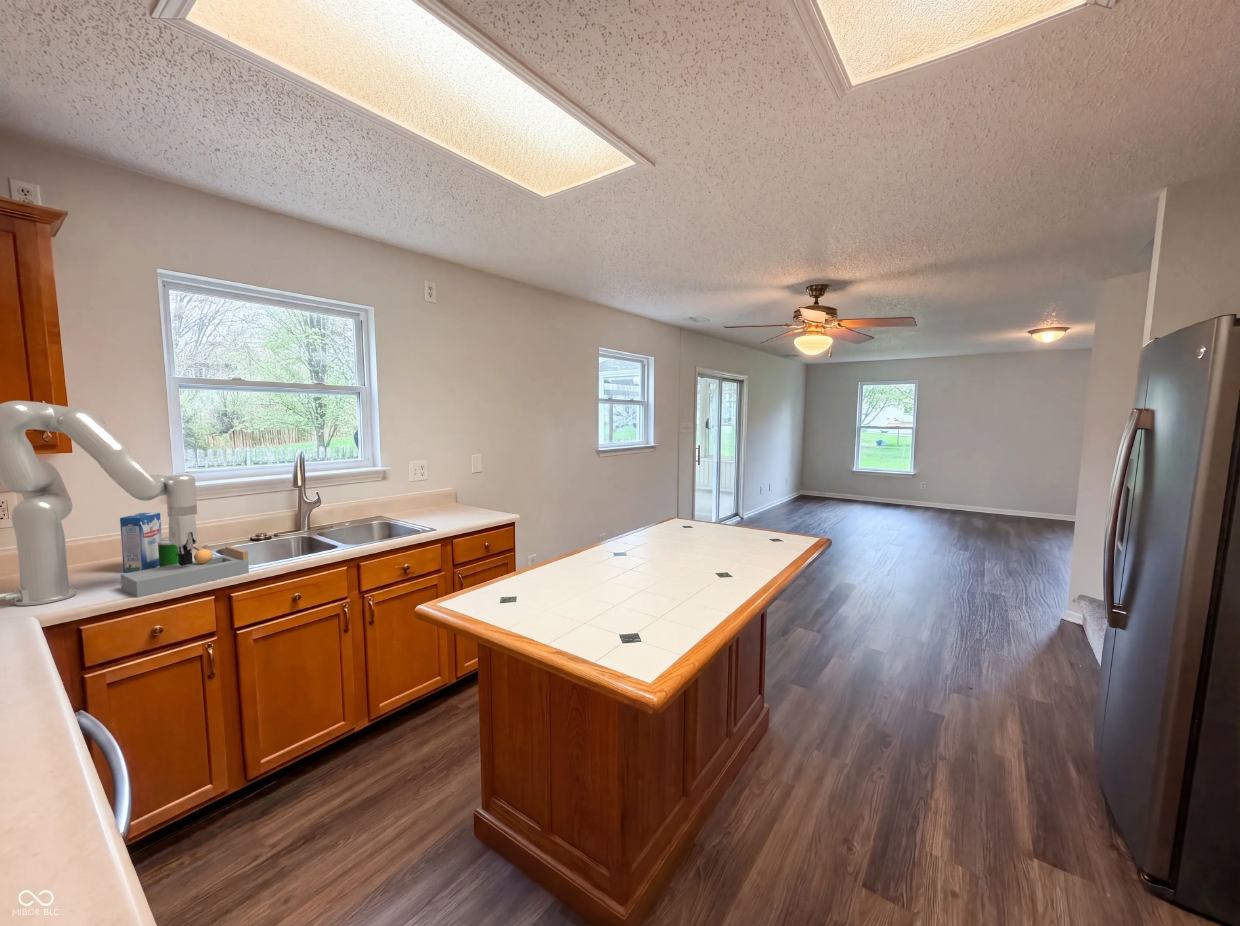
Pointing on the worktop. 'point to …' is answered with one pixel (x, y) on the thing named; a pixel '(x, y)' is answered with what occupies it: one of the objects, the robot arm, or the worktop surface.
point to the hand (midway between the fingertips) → (185, 564)
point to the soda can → (167, 553)
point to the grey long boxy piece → (185, 574)
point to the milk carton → (140, 541)
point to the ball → (203, 556)
